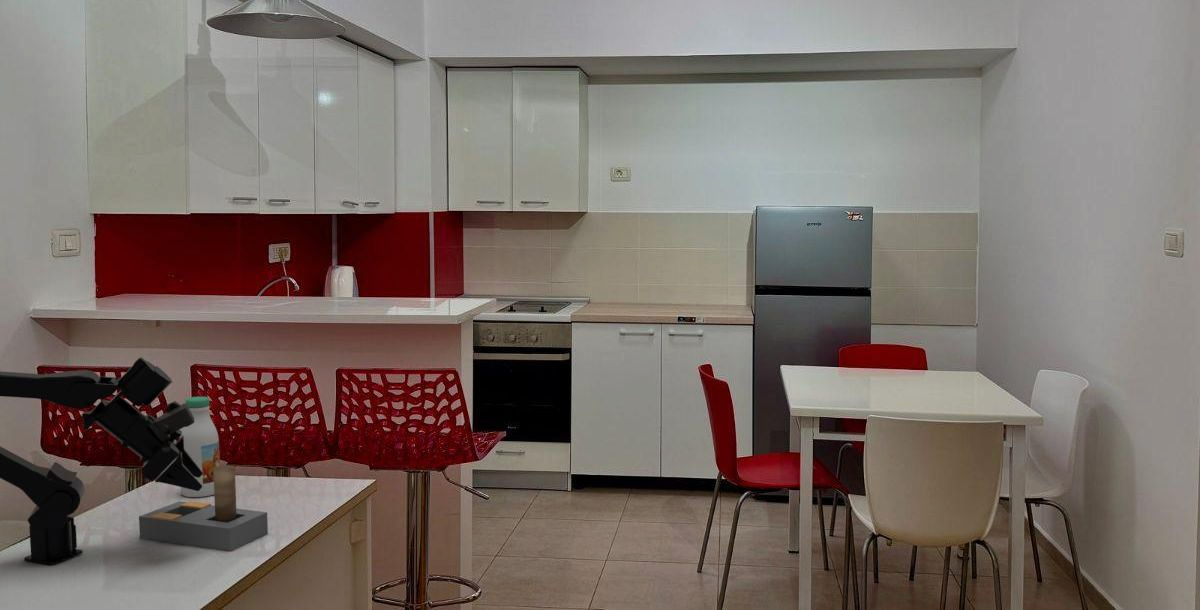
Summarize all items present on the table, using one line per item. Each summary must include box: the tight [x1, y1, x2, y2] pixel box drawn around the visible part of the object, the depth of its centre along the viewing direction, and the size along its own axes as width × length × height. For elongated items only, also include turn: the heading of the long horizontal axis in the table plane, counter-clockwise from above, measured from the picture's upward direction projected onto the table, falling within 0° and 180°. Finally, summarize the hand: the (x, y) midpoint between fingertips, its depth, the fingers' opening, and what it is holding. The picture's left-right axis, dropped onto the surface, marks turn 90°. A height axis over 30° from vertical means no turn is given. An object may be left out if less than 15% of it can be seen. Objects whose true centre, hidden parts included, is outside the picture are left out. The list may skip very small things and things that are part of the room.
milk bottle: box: [179, 396, 221, 498], centre depth 212 cm, size 8×8×20 cm
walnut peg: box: [213, 465, 237, 523], centre depth 183 cm, size 4×4×13 cm
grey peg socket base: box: [138, 500, 269, 552], centre depth 185 cm, size 20×10×4 cm, turn 70°
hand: (200, 482), depth 181 cm, fingers open, 9 cm apart
